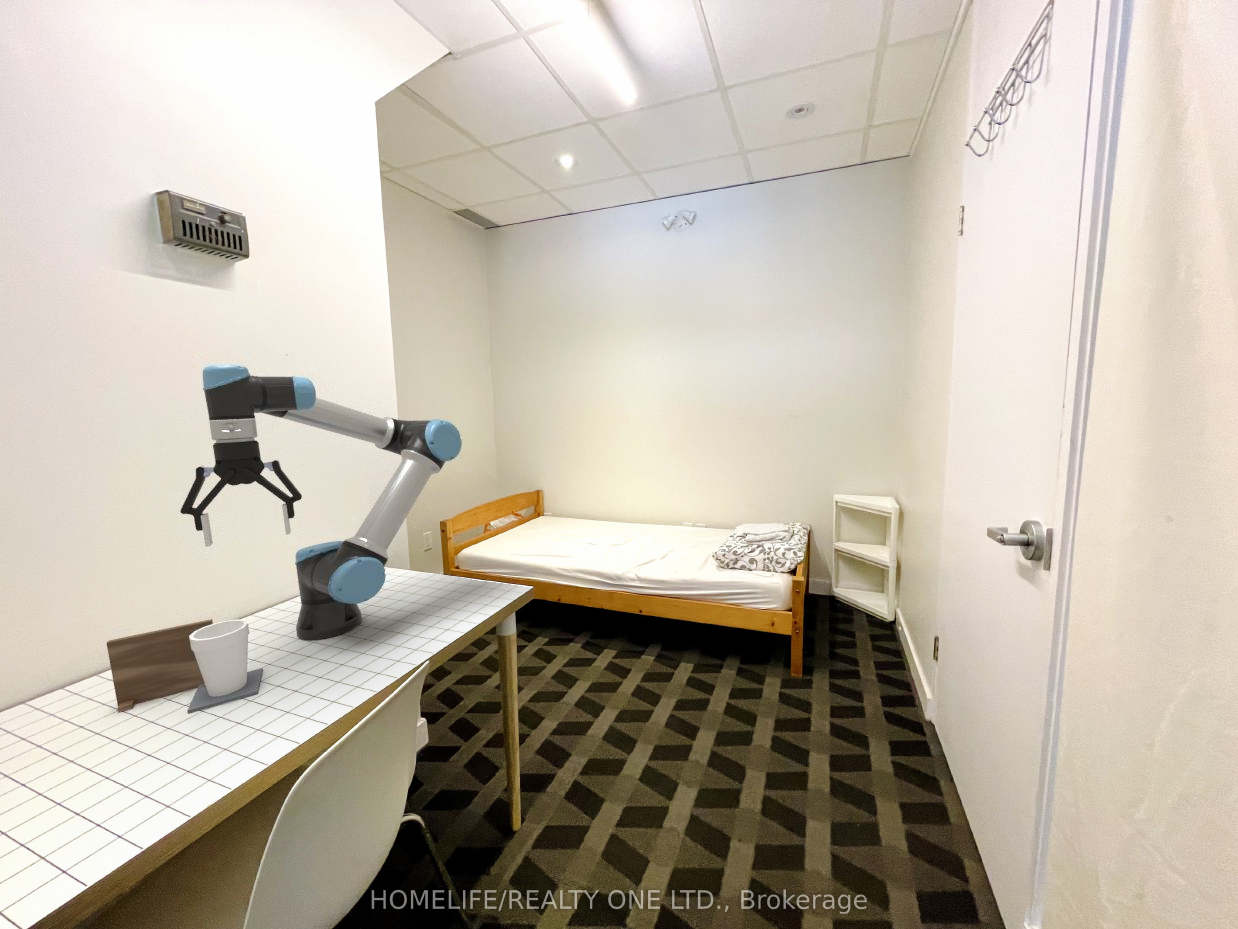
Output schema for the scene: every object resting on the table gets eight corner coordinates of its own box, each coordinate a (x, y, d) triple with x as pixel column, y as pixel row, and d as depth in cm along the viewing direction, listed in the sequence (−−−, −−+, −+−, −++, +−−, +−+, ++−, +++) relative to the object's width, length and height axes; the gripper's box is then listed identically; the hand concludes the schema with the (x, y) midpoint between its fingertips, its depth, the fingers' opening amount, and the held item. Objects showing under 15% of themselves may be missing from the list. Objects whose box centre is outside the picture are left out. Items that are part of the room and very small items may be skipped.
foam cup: (266, 679, 103) (258, 622, 101) (218, 704, 94) (209, 643, 93) (236, 672, 106) (228, 617, 105) (187, 696, 98) (178, 637, 96)
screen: (123, 700, 98) (112, 636, 96) (222, 675, 106) (213, 615, 105) (114, 713, 94) (102, 646, 92) (218, 685, 102) (209, 624, 101)
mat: (199, 687, 102) (199, 684, 102) (262, 670, 108) (262, 667, 108) (187, 713, 93) (187, 710, 93) (257, 693, 99) (257, 691, 99)
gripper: (148, 446, 89) (167, 555, 92) (306, 436, 103) (318, 532, 105) (160, 444, 96) (177, 546, 99) (307, 435, 109) (318, 525, 112)
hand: (250, 539), depth 102 cm, fingers open, 13 cm apart
